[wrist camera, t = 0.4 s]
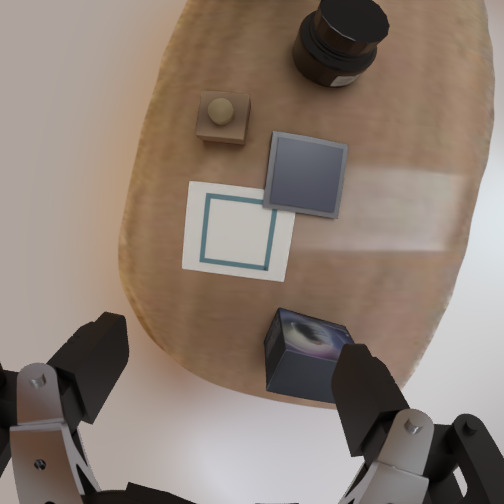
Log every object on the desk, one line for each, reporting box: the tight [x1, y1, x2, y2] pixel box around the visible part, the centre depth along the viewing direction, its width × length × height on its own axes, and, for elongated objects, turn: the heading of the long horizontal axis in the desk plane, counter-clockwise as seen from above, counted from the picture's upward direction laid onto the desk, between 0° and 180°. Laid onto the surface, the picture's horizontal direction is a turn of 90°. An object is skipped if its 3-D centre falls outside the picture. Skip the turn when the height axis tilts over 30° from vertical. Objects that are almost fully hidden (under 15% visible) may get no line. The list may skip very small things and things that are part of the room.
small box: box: [264, 308, 355, 404], centre depth 33 cm, size 11×6×10 cm, turn 72°
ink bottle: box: [293, 0, 389, 88], centre depth 23 cm, size 10×9×12 cm
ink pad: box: [262, 131, 348, 219], centre depth 32 cm, size 9×9×2 cm
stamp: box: [195, 90, 251, 145], centre depth 28 cm, size 5×5×7 cm
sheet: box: [182, 181, 296, 282], centre depth 34 cm, size 11×13×1 cm
